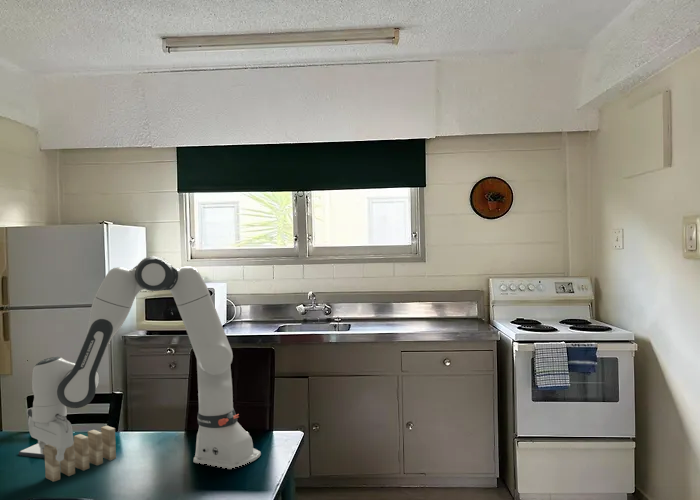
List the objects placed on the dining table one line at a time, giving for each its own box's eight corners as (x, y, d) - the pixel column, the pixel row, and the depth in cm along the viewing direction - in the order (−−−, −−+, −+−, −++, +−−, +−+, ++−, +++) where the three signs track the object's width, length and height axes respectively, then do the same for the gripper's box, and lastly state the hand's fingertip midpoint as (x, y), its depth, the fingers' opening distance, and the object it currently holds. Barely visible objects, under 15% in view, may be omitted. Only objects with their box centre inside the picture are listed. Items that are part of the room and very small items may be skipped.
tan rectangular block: (107, 455, 180) (106, 425, 180) (116, 458, 177) (114, 428, 177) (102, 457, 178) (100, 427, 178) (110, 460, 175) (109, 430, 175)
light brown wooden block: (94, 459, 176) (93, 429, 176) (103, 463, 173) (101, 432, 173) (88, 461, 175) (87, 431, 174) (97, 465, 172) (95, 434, 171)
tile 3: (81, 464, 173) (80, 433, 172) (89, 468, 170) (88, 436, 169) (75, 466, 171) (73, 435, 171) (83, 470, 168) (81, 439, 168)
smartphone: (16, 456, 182) (54, 460, 177) (16, 452, 182) (53, 455, 177) (39, 446, 190) (75, 450, 186) (38, 442, 190) (74, 445, 186)
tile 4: (67, 469, 169) (65, 438, 169) (75, 473, 166) (73, 441, 166) (60, 472, 167) (59, 440, 167) (68, 476, 164) (67, 443, 164)
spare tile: (52, 475, 165) (51, 443, 165) (60, 479, 162) (59, 446, 162) (45, 477, 164) (44, 445, 163) (53, 481, 161) (52, 448, 160)
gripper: (78, 414, 159) (80, 460, 159) (45, 403, 171) (47, 446, 171) (56, 420, 154) (58, 468, 154) (23, 409, 166) (25, 453, 166)
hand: (52, 456), depth 163 cm, fingers open, 8 cm apart
